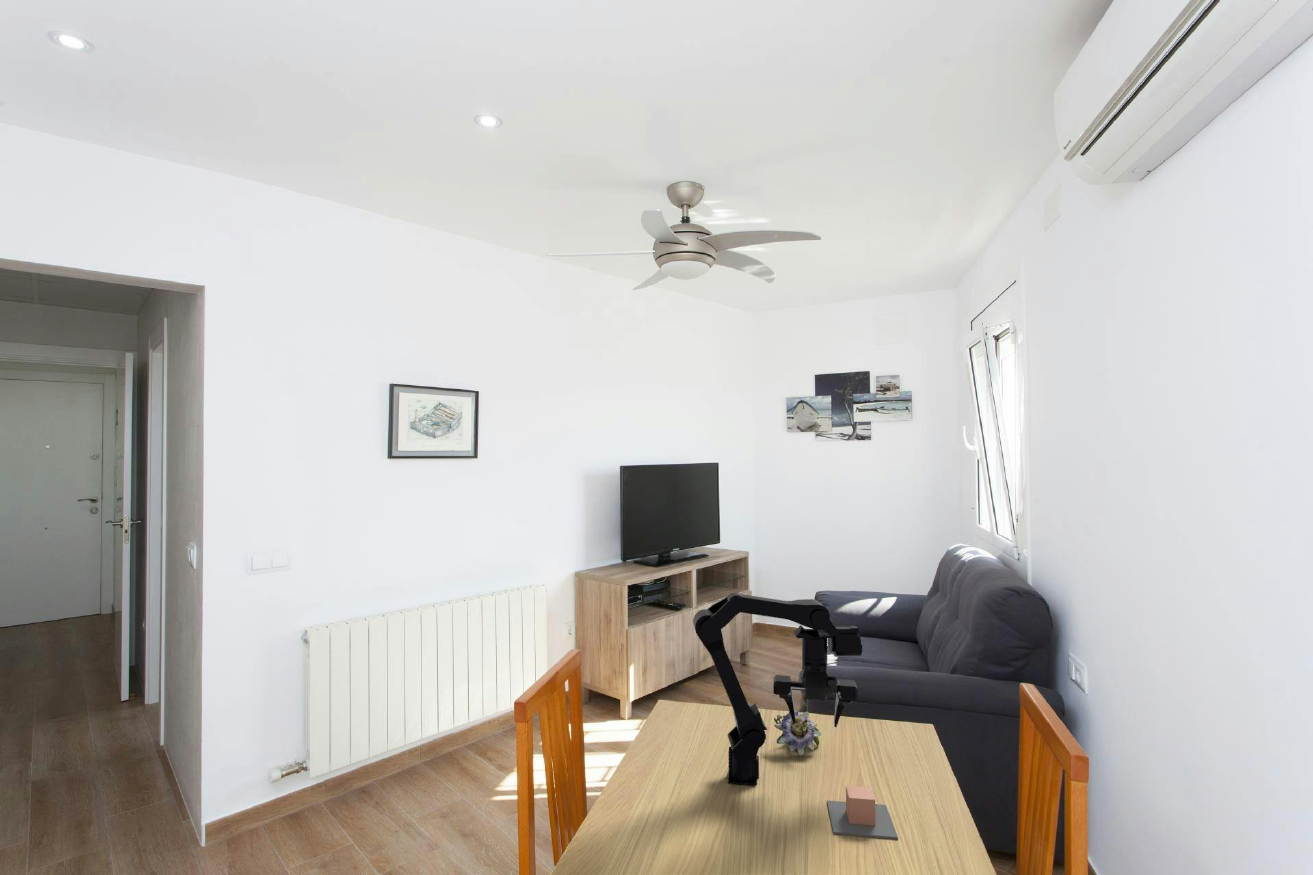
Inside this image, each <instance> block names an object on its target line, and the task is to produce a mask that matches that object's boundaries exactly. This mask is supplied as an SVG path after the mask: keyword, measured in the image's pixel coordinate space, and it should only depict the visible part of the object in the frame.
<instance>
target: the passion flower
mask: <svg viewBox="0 0 1313 875" xmlns="http://www.w3.org/2000/svg"><path fill="white" fill-rule="evenodd" d="M794 711H795V724H793V721H792V718H791V714H790V711H789V710H788V712H787V713H786V715H780V714H778V715H776V717H777V718H776V717H773V720H774V723H775V724H774V727H775V728H776V729H777V730H779V731H781V732H782V733H781V735H780V736H778V737H777V739H776V744H777V745H782V744H785V743H786V745H787V750H788V751H789V753H790V754H791V753H793V752H795V753H796V754H797V756H798V757H802V756H803V755H804V751H805V748H808V749H809V750H811V751H815V750H814V749H815V745H816V746H817V748H818V747H819V745H820V739H819V738H820V736H821V735H822V732H820V729H819V728H817V726H818V723H817V722H815V721H811V720H810V719H809V715H810V713H809V712H808V711H805V712H803V713H801V714H799V711H797V710H796V709H795V708H794ZM814 743H815V745H814Z"/></svg>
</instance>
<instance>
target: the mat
mask: <svg viewBox="0 0 1313 875" xmlns="http://www.w3.org/2000/svg"><path fill="white" fill-rule="evenodd" d="M826 804H827V809H828V814H829V817H830V824H831V829H832V832H833V835H842V836H854V837H865V838H866V837H867V838H875V839H876V838H877V839H887V840H889V839H890V840H891V839H892V840H899V836H898V834H897V831H896V828H895V825H894V823H893V821H892V818H891V815H890V813H889V810H888V807H887V805H886V804H879V803H877V804H876V803H875V818H876V826H875V825H862V824H850V823H849V820H848V816H847V812H846V801H842V800H839V801H838V800H829V799H828V800H826Z"/></svg>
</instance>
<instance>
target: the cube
mask: <svg viewBox="0 0 1313 875" xmlns="http://www.w3.org/2000/svg"><path fill="white" fill-rule="evenodd" d="M845 802H846V812H847V816H848V820H849V823H850V824H862V825H875V826H876V818H875V804H876V798H875V795H874V792H873V789H872V787H869V786H855V785H845Z"/></svg>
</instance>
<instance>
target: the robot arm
mask: <svg viewBox="0 0 1313 875" xmlns="http://www.w3.org/2000/svg"><path fill="white" fill-rule="evenodd" d="M741 613H743V614H749V615H756V616H761V617H768V618H775V619H780V620H782V619H783V620H787V621H791V622H794V623H796V624H798V625H799V626H798V627H797V628H796V629H795V630H793V632H792V634H793V635H794V636H795V638H796V639H801V681H799V680H797V681H796V680H791V675H782V674H781V675H780V674H776V675H775V676H774V677H773V689H772V690H773V695H778V697H779V698H780V699H783V700H784V701H785V704H786V706H787V708H788V712H789V711H790V714H791V718H792V721H793V724H795V711H796V710H795V711H794V709H795V706H794V697H793V691H804V697H805V699H807V700H811V701H812V700H820V701H827V700H828V695H835V696H836V697H835V704H834V715H833V718H834V719H833V726H834V728H837V726H838V724H839V721H840V718H841V715H842V713H843V710H844V708H845V707H846V705H847V704H852V703H853V701H857V700H859V690H858V686H857V683H856V682H855V681H854V680H853V679H842V678H841V679H837V677H836V676H829V675H828V651H829V653H832V654H833V656H834V657H836V658H860V657H861V656H862V653H863V643H862V640H861V635H860V632H859V627H857V626H856V625H850V626H849V625H848V626H836V625H835V624H834V623H833V622H832V621H831V619H830V618H831V614H830V612H829V610H828V608H827V607H826V606H825V605H823V604H822V603H821V602H820V601H818V600H817V599H812V598H811V599H810V598H809V599H806V598H805V599H796V600H795V599H794V600H783V599H777V598H768V597H763V596H756V595H749V594H743V593H742V594H741V593H739V592H737V591H736V592H735V591H733V592H731V593H729V594H728V595H727V596H726V597H724V598H722V599H721V600H719V601H717V602H715V603H713V604H712V605H710V606H709V607H708V608H705V609H700V610H698V611H697V612H696V613H695V615H694V616H693V619H692V624H693V627H694V628H693V629H694V631H695V634H696V636H697V637H698V638H699V640H700V642H701V643H702V645H703V647H704V648H705V649H706V650H707V651H708V654H709V655H710V656H711V659H712V661H713V664H714V666H715V669H716V671H717V674H718V676H719V678H720V681H721V683H722V685H723V688H724V690H725V692H726V695H727V697H728V699H729V702H730V704H731V707H732V711H733V712H732V713H733V716H734V722H735V726H734V727H733V728H732V729H731V730H730V731H729V732H728V733H727V739H728V742H729V745H730V746H729V747H728V772H727V783H729V784H734V785H739V784H740V785H746V786H747V785H749V786H757V785H758V780H759V779H760V756H759V755H758V753H759V749H760V748H762V746H763V745H764V744H765V742H766V739H767V734H766V731H768V728H767V726H766V723H765V721H764V720H763V717H762V715H761V711H760V710H759V707H758V705H757V703H754V704H752V705H751V704H749V701H748V700H747V699H746V696H745V694H744V691H743V688H742V686H741V684H740V681H739V680H738V677H737V675H736V673H735V670H734V668H733V665H732V662H731V660H730V658H729V655H728V653H727V651H726V646H725V642H724V636H723V632H722V629H723V628H725V627H726V626H727V625H728V624H729V623H730V622H731V621H732V620H733V619H734V618H735V617H736V616H737V615H739V614H741ZM804 627H807V628H804ZM821 630H822V631H823V632H819V631H821Z"/></svg>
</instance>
